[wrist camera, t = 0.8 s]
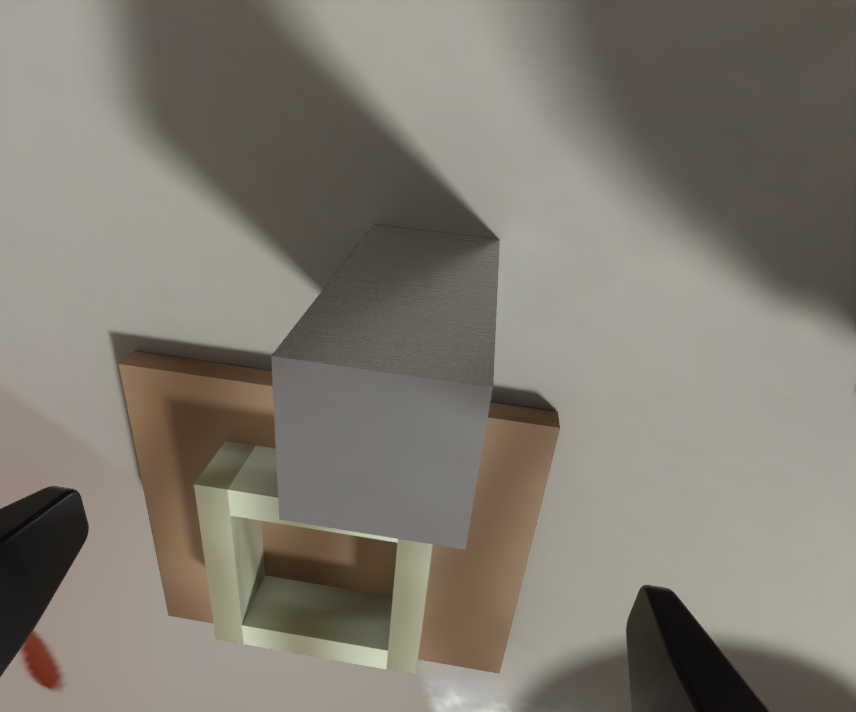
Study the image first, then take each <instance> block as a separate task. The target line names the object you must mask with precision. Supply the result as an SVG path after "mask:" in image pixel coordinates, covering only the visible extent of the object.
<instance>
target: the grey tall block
mask: <svg viewBox="0 0 856 712" xmlns="http://www.w3.org/2000/svg"><path fill="white" fill-rule="evenodd" d="M499 242H500V240H499V239H491V238H483V237H475V236H467V235H459V234H451V233H443V232H435V231H426V230H418V229H410V228H402V227H394V226H386V225H378V224H374V225H373V227H372V228H371V229H370V230H369V232H368V233H367V234H366V236H365V237H364V238H363V239H362V241H361V242H360V243H359V245H358V246H357V247H356V248H355V250H354V251H353V252H352V253H351V255H350V256H349V257H348V259H347V260H346V261H345V262H344V264H343V265H342V266H341V267H340V269H339V270H338V271H337V273H336V274H335V275H334V276H333V278H332V279H331V280H330V282H329V283H328V284H327V285H326V287H325V288H324V289H323V290H322V292H321V293H320V294H319V296H318V297H317V298H316V299H315V301H314V302H313V303H312V305H311V306H310V307H309V308H308V310H307V311H306V312H305V313H304V315H303V316H302V317H301V319H300V320H299V321H298V322H297V324H296V325H295V326H294V327H293V329H292V330H291V331H290V333H289V334H288V335H287V336H286V338H285V339H284V340H283V342H282V343H281V344H280V345H279V347H278V348H277V349H276V350H275V352H274V353H273V354H272V356H271V363H272V383H273V403H274V423H275V443H276V463H277V483H278V503H279V520H284V521H290V522H296V523H303V524H309V525H315V526H321V527H327V528H334V529H340V530H346V531H352V532H359V533H365V534H371V535H377V536H383V537H390V538H396V539H402V540H408V541H414V542H421V543H427V544H433V545H439V546H446V547H452V548H458V549H464V550H465V549H466V543H467V537H468V531H469V526H470V520H471V514H472V508H473V502H474V496H475V490H476V484H477V478H478V473H479V467H480V461H481V455H482V449H483V443H484V437H485V431H486V425H487V419H488V414H489V408H490V402H491V396H492V390H493V375H494V353H495V331H496V309H497V287H498V265H499Z"/></svg>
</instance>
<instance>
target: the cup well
mask: <svg viewBox="0 0 856 712" xmlns="http://www.w3.org/2000/svg"><path fill="white" fill-rule="evenodd" d="M119 369H120V374H121V379H122V384H123V389H124V394H125V399H126V404H127V409H128V414H129V419H130V424H131V429H132V434H133V439H134V444H135V449H136V454H137V459H138V464H139V469H140V474H141V479H142V484H143V489H144V494H145V499H146V504H147V508H148V514H149V520H150V524H151V529H152V535H153V540H154V544H155V550H156V555H157V560H158V565H159V570H160V574H161V580H162V585H163V590H164V595H165V600H166V605H167V610H168V615H169V616H174V617H180V618H185V619H191V620H197V621H203V622H208V623H214V628H215V636H216V639H218V640H224V641H230V642H236V643H241V644H247V645H253V646H258V647H263V648H269V649H275V650H280V651H286V652H292V653H297V654H303V655H309V656H314V657H321V658H326V659H331V660H337V661H343V662H349V663H355V664H360V665H366V666H371V667H377V668H382V669H388V670H394V671H400V672H405V673H410V674H416V667H417V661H418V659H420V660H425V661H431V662H437V663H442V664H448V665H454V666H460V667H465V668H471V669H477V670H482V671H488V672H494V673H500V669H501V665H502V661H503V657H504V653H505V649H506V645H507V641H508V637H509V633H510V628H511V624H512V620H513V616H514V612H515V608H516V604H517V600H518V596H519V592H520V588H521V584H522V580H523V576H524V572H525V568H526V564H527V559H528V555H529V551H530V547H531V543H532V539H533V535H534V531H535V527H536V523H537V519H538V515H539V511H540V507H541V503H542V499H543V495H544V490H545V486H546V482H547V478H548V474H549V470H550V466H551V462H552V458H553V454H554V450H555V446H556V442H557V438H558V434H559V430H560V425H559V418H558V412H555V411H548V410H541V409H534V408H527V407H520V406H513V405H506V404H499V403H492V402H490V408H489V414H488V419H487V425H486V431H485V437H484V443H483V449H482V455H481V461H480V467H479V473H478V478H477V484H476V490H475V496H474V502H473V508H472V514H471V520H470V526H469V531H468V537H467V543H466V549H465V550H464V549H458V548H452V547H446V546H439V545H433V544H427V543H421V542H414V541H408V540H402V539H396V538H390V537H383V536H377V535H371V534H365V533H359V532H352V531H346V530H340V529H334V528H327V527H321V526H315V525H309V524H303V523H296V522H290V521H284V520H279V503H278V483H277V463H276V443H275V423H274V403H273V383H272V371H269V370H262V369H255V368H248V367H241V366H234V365H227V364H220V363H213V362H206V361H199V360H192V359H185V358H178V357H171V356H164V355H157V354H150V353H143V352H136V351H134V352H133V353H132V354H130V355H129V356H128V357H127V358H125V359H124V360H123V361H122V362H120V363H119Z"/></svg>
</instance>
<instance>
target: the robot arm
mask: <svg viewBox="0 0 856 712" xmlns="http://www.w3.org/2000/svg"><path fill="white" fill-rule="evenodd" d="M88 528H89V526H88V521H87V518H86V514H85V510H84V506H83V503H82V499H81V496H80V494H79V492H78V491H77V490H74V489H70V488H64V487H58V486H51V487H47V488H44V489H42V490H40V491H38V492H36V493H34V494H31V495H29V496H27V497H25V498H23V499H21V500H18V501H16V502H14V503H12V504H10V505H8V506H6V507H3V508H1V509H0V677H1V675H2V674H3V673H4V671H5V670H6V668H7V667H8V666H9V664H10V663H11V661H12V660H13V658H14V657H15V656H16V654H17V653H18V651H19V650H20V649H21V647H22V646H23V644H24V643H25V641H26V640H27V638H28V637H29V635H30V634H31V632H32V631H33V630H34V628H35V626H36V625H37V623H38V621H39V620H40V618H41V617H42V615H43V613H44V611H45V610H46V608H47V606H48V605H49V603H50V601H51V600H52V598H53V596H54V594H55V593H56V591H57V589H58V587H59V585H60V584H61V582H62V581H63V579H64V577H65V575H66V573H67V572H68V570H69V568H70V566H71V565H72V563H73V561H74V560H75V558H76V556H77V554H78V553H79V551H80V549H81V548H82V546H83V544H84V542H85V540H86V538H87V535H88ZM626 636H627V650H628V663H629V677H630V690H631V703H632V712H770V711H769V710H768V709H767V708H766V706H765V705H764V704H763V703H762V701H761V700H760V699H759V698H758V696H757V695H756V694H755V693H754V691H753V690H752V689H751V688H750V686H749V685H748V684H747V683H746V681H745V680H744V679H743V678H742V676H741V675H740V674H739V673H738V671H737V670H736V669H735V668H734V666H733V665H732V664H731V663H730V661H729V660H728V659H727V658H726V656H725V655H724V654H723V653H722V651H721V650H720V649H719V648H718V646H717V645H716V644H715V643H714V641H713V640H712V639H711V638H710V636H709V635H708V634H707V633H706V631H705V630H704V629H703V628H702V626H701V625H700V624H699V623H698V621H697V620H696V619H695V618H694V616H693V615H692V614H691V613H690V611H689V610H688V609H687V608H686V606H685V605H684V604H683V603H682V601H681V600H680V599H679V598H678V596H677V595H676V594H675V593H674V592H673V591H672V590H670V589H668V588H664V587H658V586H652V585H644V586H642V587H641V588H640V590H639V592H638V595H637V597H636V600H635V602H634V605H633V608H632V610H631V613H630V615H629V618H628V621H627V628H626Z"/></svg>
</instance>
